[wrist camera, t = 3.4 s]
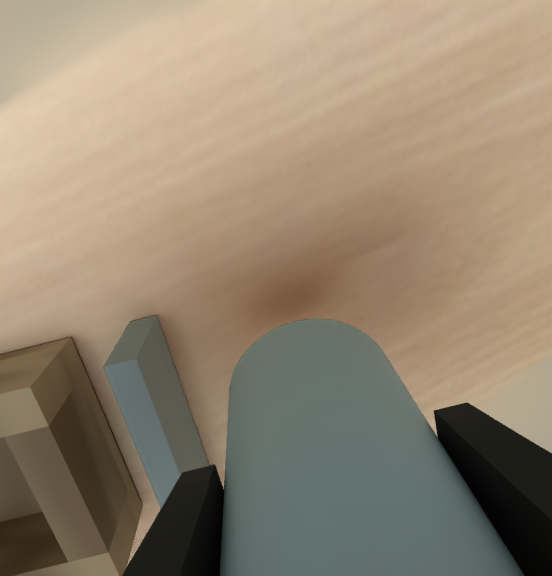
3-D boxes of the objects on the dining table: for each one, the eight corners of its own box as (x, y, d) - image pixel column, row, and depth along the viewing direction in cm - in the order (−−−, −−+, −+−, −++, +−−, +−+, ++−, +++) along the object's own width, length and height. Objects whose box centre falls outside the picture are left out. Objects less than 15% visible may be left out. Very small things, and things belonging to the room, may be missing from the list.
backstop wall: (193, 492, 20) (184, 565, 17) (130, 321, 17) (103, 367, 14) (216, 486, 20) (211, 558, 17) (156, 314, 17) (136, 359, 14)
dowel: (252, 480, 12) (276, 1320, 4) (208, 342, 11) (80, 1140, 2) (405, 443, 12) (798, 1204, 4) (379, 300, 11) (901, 953, 2)
